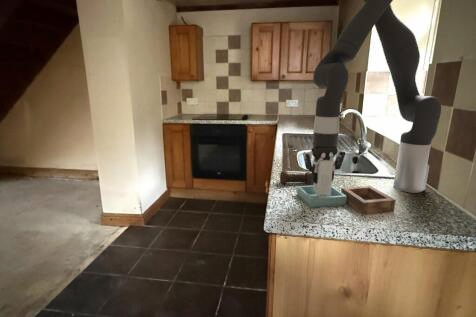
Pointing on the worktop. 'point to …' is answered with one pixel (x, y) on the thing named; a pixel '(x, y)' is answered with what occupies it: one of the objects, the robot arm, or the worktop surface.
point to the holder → (367, 207)
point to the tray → (315, 201)
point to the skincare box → (324, 179)
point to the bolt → (295, 178)
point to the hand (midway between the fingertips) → (322, 181)
